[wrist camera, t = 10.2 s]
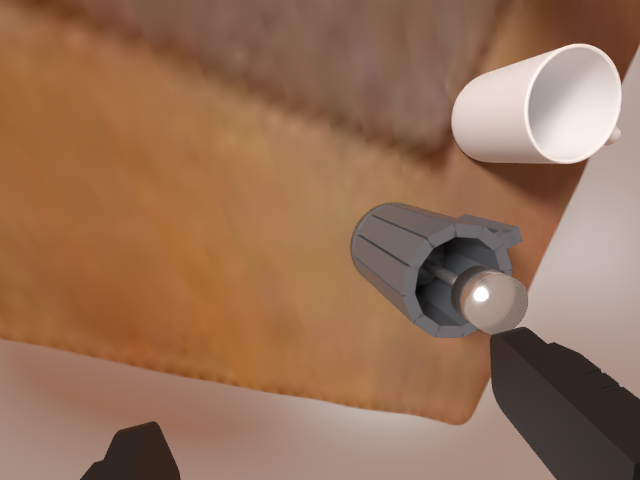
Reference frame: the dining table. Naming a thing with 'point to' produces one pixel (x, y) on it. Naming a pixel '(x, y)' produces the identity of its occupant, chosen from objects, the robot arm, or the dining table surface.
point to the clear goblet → (479, 293)
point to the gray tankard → (414, 247)
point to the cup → (541, 109)
